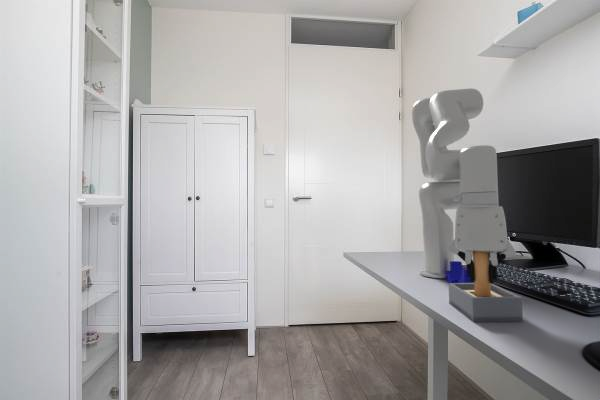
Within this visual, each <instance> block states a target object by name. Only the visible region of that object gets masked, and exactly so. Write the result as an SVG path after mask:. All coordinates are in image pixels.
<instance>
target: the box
mask: <svg viewBox="0 0 600 400" xmlns="http://www.w3.org/2000/svg"><path fill="white" fill-rule="evenodd" d="M490 285H491V297H479V296H476V295H475V291H474V283H449V282H448V304H449V305H451V306H452V307H453V308H454V309H456V310H457V311H458V312H460V313H461V314H462V315H463V316H465V317H466V318H468V320H470V321H471V322H472V323H506V322H508V323H509V322H510V323H513V322H515V323H517V322H518V323H520V322H523V321H524V320H523V297H522V296H519V295H517V294H515V293H513V292H511V291H509V290H507V289H504V288H503V287H500V286H498V285H496V284H495V283H494V284H491V283H490Z"/></svg>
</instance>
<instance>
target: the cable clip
mask: <svg viewBox="0 0 600 400" xmlns="http://www.w3.org/2000/svg"><path fill="white" fill-rule="evenodd" d="M445 276H446V279H445V280H446V281H447V282H448V284H449V283H474V281H473V282H470V277H467V267H466V268H463V264H462V261H460V260H459V261H457V260H456V261H455V260H454V261H450V271H445Z"/></svg>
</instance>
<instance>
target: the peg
mask: <svg viewBox="0 0 600 400" xmlns="http://www.w3.org/2000/svg"><path fill="white" fill-rule="evenodd" d="M472 260H473V264H474V291H475V295H476V296H479V297H491V285H490V279H489V265H490V261H491V259H490V252H478V251H473V253H472Z"/></svg>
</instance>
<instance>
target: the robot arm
mask: <svg viewBox="0 0 600 400" xmlns="http://www.w3.org/2000/svg"><path fill="white" fill-rule="evenodd" d="M483 107H484V97H483V95H482V93H481V92H480V91H479V90H478V89H475V88H459V89H449V90H448V89H447V90H442V91H438V92H437V93H435V94H434V95H432V97H427V98H422V99H419V100H418V101H416V102H415V103H414V104H413V106H412V110H411V117H412V118H411V119H412V124H413V128H414V130H415V133H416V135H417V137H418V140H419V149H420V151H419V152H420V162H421V163H420V165H421V172H422V174H423V176H424V177H425V178H427V179H433V180H434V181H431V182H426V183H424V184H422V185H420V188H419V190H418V197H419V198H418V199H419V202H420V203H419V204H420V209H421V216H422V236H423V237H422V238H423V240H422V241H423V268H420V269H419V274H420V275H421V276H423V277H427V278H432V279H445V280H446V276H445V271H450V261H455V255H457V256H458V257H459V258H460V259H461V260H462V261H463V262H464V263H465V264H466V268H467V277H470V282H473V281H474V264H473V251H478V252H489V258H490V265H489V279H490V283H491V284H494V285H495V283H494V282H495V280H498V269H497V268H498V267H497V266H498V265H499V264H500V263H501V262H503V261H504V260H505V259H507V258H510V257H511V256H512V257H513V256H514V255H516V254H517V250H516V249H515V247H514V246H513V244H512V243H511V242H510V240H509V239H508V232H507V230H508V229H507V222H506V215H505V211H504V207H503V206H501V205H499V202H500V201H499V183H498V182H499V180H498V159H497V158H498V156H497V155H498V154H497V150H496V148H495V146H492V145H488V144H487V145H485V144H484V145H472V146H468V147H464V148H462V149H448V146H450V145H452V144H453V143H455V142H458V141H460V140H461V139H462V138H464V137H465V136H466V135H467V134H468V132H469V131H470V126H471V125H470V122H469V120H471V119H474V118H477V117H478V116H479V115H481V113H482V112H483ZM448 210H456V211H455V219H454V222H455V223H454V222H453V219H452V218H451V217H450V216H449V215H448V214H447V213H446V211H448ZM498 253H499V254H498Z"/></svg>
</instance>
